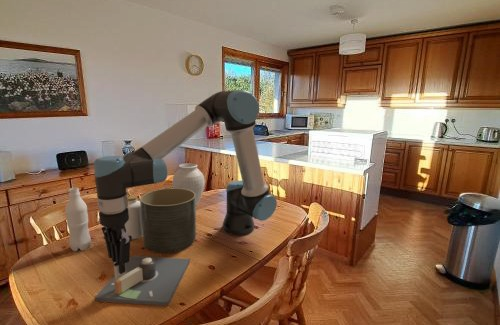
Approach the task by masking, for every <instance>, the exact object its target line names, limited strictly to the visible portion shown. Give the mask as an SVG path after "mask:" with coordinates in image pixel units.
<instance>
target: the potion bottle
mask: <svg viewBox="0 0 500 325" xmlns="http://www.w3.org/2000/svg"><path fill="white" fill-rule="evenodd" d="M127 201H128V207H127V208H128V213H129V220H128V221H127V222H126V223H125V228H126V234H127V236H130V235H131V237H132V240H138V239H140V238H143V229H142V219H141V207H140V200H138V196H136V195H130V196H127ZM132 240H131V241H132Z"/></svg>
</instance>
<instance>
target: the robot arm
mask: <svg viewBox="0 0 500 325" xmlns="http://www.w3.org/2000/svg"><path fill="white" fill-rule="evenodd" d="M194 107H195V108H194V110H193V111H192V112H191V113H188V115H186V116H184V117H183V118H181V119H179V121H177V122H175V123H174V124H173V125H171V126H170V127H168V128H167V129H165V130H164V131H163V132H161V133H159V134H158V135H156V136H155V137H154V138H152V139H151V140H150V141H148V142H146V143H145V144H144V145H142V146H141V147H139V148H137V149H136V150H134V151H132V152H131V151H130V152H127V153H125V154H124V155H122V156H118V155H108V156H101V157H98V158H96V159H95V160H94V162H93V167H94V168H93V170H94V174H93V175H94V180H95V188H96V189H95V190H96V195H97V196H96V197H97V203H96V205H97V207H98V211H99V212H98V215H99V223H100V225H101V226H102V227H101V231H102V234H103V236H104V242H105V246H106V250H107V255H108V257H109V259H111V261H112V262H113V270H114V271H113V272H114V276H115V280H116V279H118V278H119V277H121V276H123V275H125V274H126V268H125V264H126V263H127V262H129V259H130V258H131V257H130V255H131V253H130V252H131V242H132V237H131V235H130V236H127V234H126V228H125V223H126V222H127V221H128V220H129V213H128V208H127V207H128V201H127V197H128V193H127V192H128V191H127V189H128V188H134V187H140V186H141V187H142V186H146V185H153V184H155V185H157V184H159V183H163V182H165V181H166V180H167V178H168V167H167V166H168V165H167V164H166V162H165V160H164V158H165V157H167V156H168V155H169V154H170V153H172V152H173V151H176V149H177V148H179V147H181V146H182V145H183V144H184V143H186V142H188V140H189V139H192V138H193V137H194V136H196V135H197V134H198V133H200V131H203V129H205V128H206V127H208V128H211V127H213V125H215V124H217V123H220V122H224V123H223V124H224V127H225V130H226V132H228V133H229V134H231V138H232V139H231V140H232V142H233V146H234V147H233V148H234V151H235V156H236V160H237V164H238V168H239V173H240V177H241V180H233V181H230V182H229V183H227V185H226V189H225V190H226V213H225V216H224V219H223V221H222V230H223V231H224V232H225V233H227V234H229V235H234V236H235V235H236V236H243V235H249V234H250V233H252V232H253V231H254V230H255V222H254V219H255V220H258V221H261V222H263V221H266V220H268V219H270V218H271V217H272V216H273V215H274V213H275V211H276V209H277V204H278V201H277V198H276V197H275V196H274V195H273V194H270V189H269V185H268V184H267V183H265V181H264V178H263V172H262V167H261V162H260V158H259V153H258V152H259V151H258V147H257V142H256V137H255V132H254V128H255V126H256V124H257V123H256V122H257V121H256V120H257V119H258V117H259V115H258V114H260V104H259V102H258V99H257V98H256V96H255V95H254V94H253V93H251V92H250V91H248V90H245V89H244V90H243V89H233V90H226V91H225V90H222V91H218V92H216V93H214V94H212V95H210V96H209V97H207V98H206V99H204V100H203V101H202V102H200V103H199V104H197V105H196V106H194Z"/></svg>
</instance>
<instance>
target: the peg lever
mask: <svg viewBox="0 0 500 325" xmlns="http://www.w3.org/2000/svg"><path fill="white" fill-rule="evenodd" d="M155 275H156V268H155V260H154V259H152V258H145V259H143V260H141V261H140V262H139V267H137V268H136V269H134V270H132V271H130V272H128V273H127V274H125V275H123V276H121V277H119V278H118V279H116V280H114V284H115V292H116V293H117V294H121V293H122V292H124V291H125V290H127V289H129V288H130V287H132V286H134V285H135V284H137V283H138V282H140V281H142V280H149V279H152V278H153V277H154V276H155Z"/></svg>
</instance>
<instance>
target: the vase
mask: <svg viewBox="0 0 500 325" xmlns="http://www.w3.org/2000/svg"><path fill="white" fill-rule="evenodd" d="M198 166H199V165H198V164H196V163H192V162H190V163H185V162H184V163H180V164H179V165H178V167H179V168H178V170H176V172H175V173H174V174H173V176H172V181H171V182H172V188H181V189H187V190H191V191H193V192H194V193H195V194H196V207H197V205H198V204H199V202H200V200H201V198H202V196H203V193H204V189H205V184H206V182H205V176H204V174H203V172H201V170H200V169H199V168H198Z"/></svg>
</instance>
